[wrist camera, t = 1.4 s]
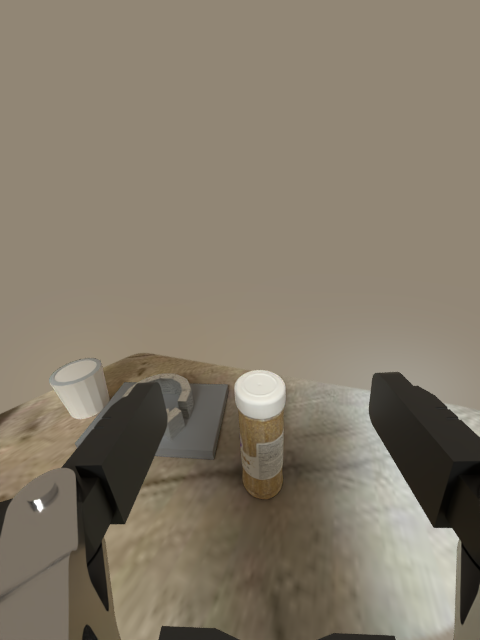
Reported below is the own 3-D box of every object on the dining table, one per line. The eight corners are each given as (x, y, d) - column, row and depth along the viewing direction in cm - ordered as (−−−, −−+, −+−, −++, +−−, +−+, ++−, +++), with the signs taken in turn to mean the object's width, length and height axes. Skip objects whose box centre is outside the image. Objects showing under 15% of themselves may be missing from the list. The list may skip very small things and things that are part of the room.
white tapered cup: (60, 407, 40) (43, 372, 37) (104, 385, 44) (92, 352, 41) (73, 430, 35) (55, 392, 32) (120, 403, 40) (108, 367, 37)
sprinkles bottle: (237, 466, 29) (228, 373, 23) (274, 455, 30) (273, 363, 24) (249, 508, 25) (242, 408, 19) (291, 493, 26) (295, 394, 20)
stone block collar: (111, 437, 32) (104, 420, 31) (144, 387, 40) (140, 373, 39) (180, 440, 31) (176, 423, 29) (200, 389, 39) (197, 374, 38)
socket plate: (78, 451, 32) (74, 443, 31) (126, 389, 43) (124, 382, 42) (213, 459, 30) (212, 451, 29) (228, 391, 41) (227, 384, 40)
